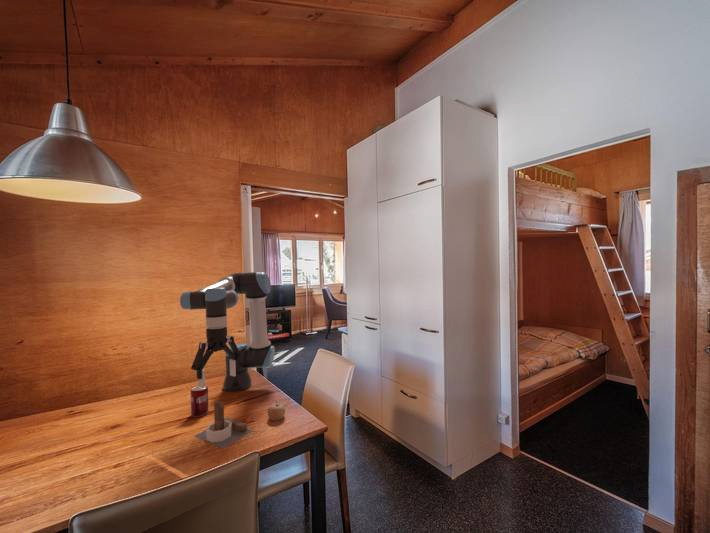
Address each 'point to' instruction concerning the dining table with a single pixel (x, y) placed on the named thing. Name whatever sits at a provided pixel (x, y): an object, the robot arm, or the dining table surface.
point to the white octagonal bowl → (219, 432)
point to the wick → (237, 425)
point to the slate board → (226, 442)
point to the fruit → (276, 412)
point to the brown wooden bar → (219, 415)
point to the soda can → (199, 401)
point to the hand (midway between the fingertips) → (218, 381)
